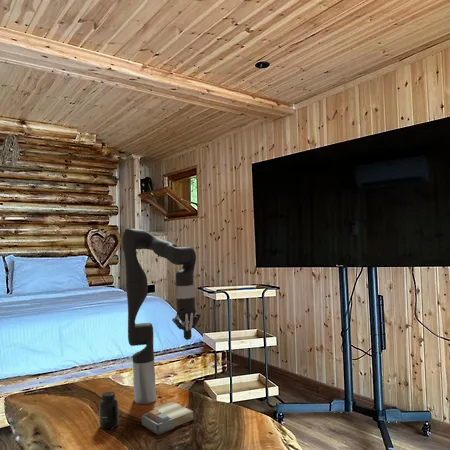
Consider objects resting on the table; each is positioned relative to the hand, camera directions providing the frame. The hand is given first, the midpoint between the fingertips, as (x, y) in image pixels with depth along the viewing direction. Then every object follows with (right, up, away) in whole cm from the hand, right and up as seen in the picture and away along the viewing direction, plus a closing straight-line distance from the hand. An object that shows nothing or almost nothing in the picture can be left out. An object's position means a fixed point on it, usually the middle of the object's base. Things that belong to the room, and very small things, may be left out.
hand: (187, 339), depth 168 cm
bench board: (-5, -29, -7) cm, 30 cm away
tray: (-10, -29, -14) cm, 33 cm away
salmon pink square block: (-10, -26, -11) cm, 30 cm away
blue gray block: (-7, -26, -15) cm, 30 cm away
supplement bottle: (-29, -30, -11) cm, 43 cm away
